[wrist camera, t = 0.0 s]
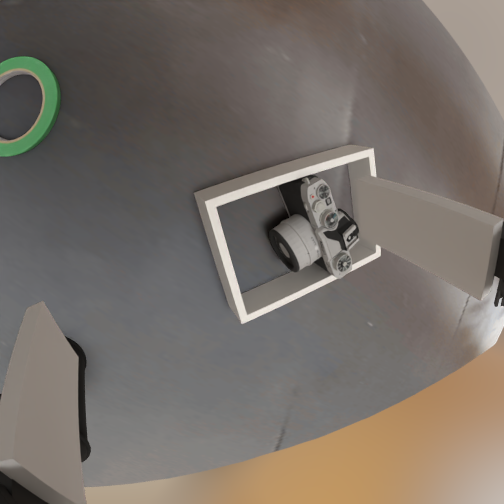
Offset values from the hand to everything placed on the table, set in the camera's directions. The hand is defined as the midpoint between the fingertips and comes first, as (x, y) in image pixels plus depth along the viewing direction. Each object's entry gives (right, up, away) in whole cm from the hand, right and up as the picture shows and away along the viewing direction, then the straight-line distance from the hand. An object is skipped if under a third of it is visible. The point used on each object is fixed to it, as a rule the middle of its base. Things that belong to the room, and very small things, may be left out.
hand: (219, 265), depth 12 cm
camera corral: (+7, +5, +34) cm, 34 cm away
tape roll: (-25, +17, +14) cm, 33 cm away
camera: (+7, +5, +34) cm, 35 cm away
